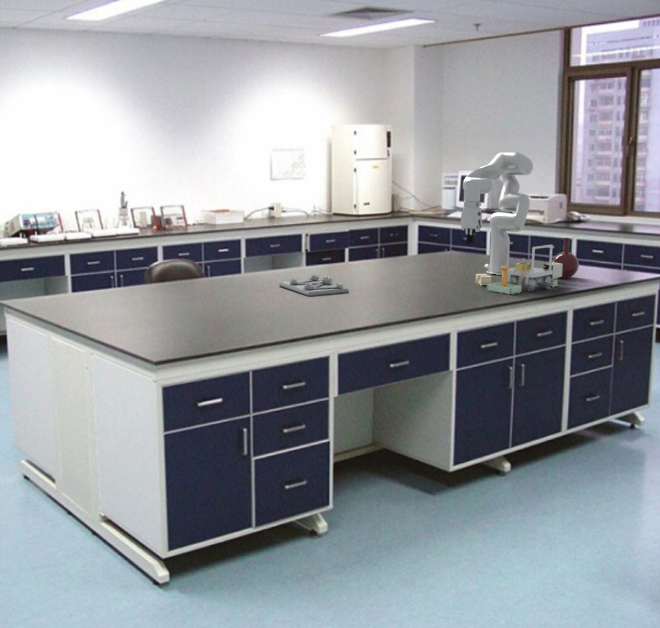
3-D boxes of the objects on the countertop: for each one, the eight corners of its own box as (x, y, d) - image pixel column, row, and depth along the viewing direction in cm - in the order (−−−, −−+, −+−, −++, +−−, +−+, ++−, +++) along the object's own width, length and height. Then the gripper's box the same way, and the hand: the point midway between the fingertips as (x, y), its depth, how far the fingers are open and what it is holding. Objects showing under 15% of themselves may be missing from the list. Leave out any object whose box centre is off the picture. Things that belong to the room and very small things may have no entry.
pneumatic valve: (563, 285, 421) (565, 261, 418) (549, 288, 413) (550, 263, 411) (553, 284, 425) (555, 259, 422) (539, 287, 417) (540, 261, 415)
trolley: (501, 288, 414) (504, 243, 409) (522, 284, 424) (524, 241, 420) (532, 293, 401) (534, 247, 397) (552, 289, 412) (555, 244, 408)
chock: (475, 283, 427) (475, 274, 426) (485, 283, 428) (485, 273, 427) (481, 286, 420) (481, 276, 419) (491, 285, 421) (491, 276, 420)
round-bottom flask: (583, 279, 441) (586, 239, 437) (564, 281, 435) (567, 240, 430) (564, 275, 452) (566, 236, 448) (545, 277, 446) (547, 237, 442)
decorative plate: (277, 287, 414) (277, 272, 412) (317, 283, 424) (317, 269, 423) (308, 298, 388) (308, 282, 387) (350, 293, 399) (350, 278, 397)
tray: (486, 290, 406) (487, 284, 406) (497, 288, 412) (498, 282, 411) (510, 294, 397) (510, 288, 396) (521, 292, 402) (521, 286, 402)
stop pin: (498, 290, 404) (499, 266, 402) (503, 289, 406) (504, 265, 404) (504, 291, 402) (505, 267, 399) (509, 290, 404) (510, 266, 402)
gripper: (489, 205, 420) (487, 243, 424) (464, 203, 431) (462, 240, 434) (479, 206, 415) (477, 245, 419) (454, 204, 426) (453, 242, 429)
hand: (470, 242), depth 426 cm, fingers closed
